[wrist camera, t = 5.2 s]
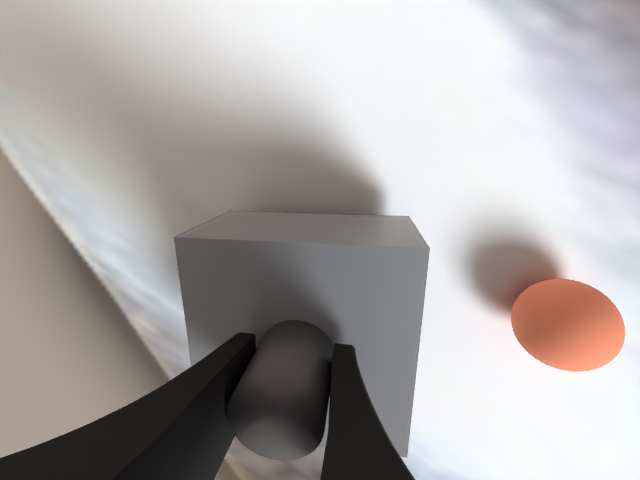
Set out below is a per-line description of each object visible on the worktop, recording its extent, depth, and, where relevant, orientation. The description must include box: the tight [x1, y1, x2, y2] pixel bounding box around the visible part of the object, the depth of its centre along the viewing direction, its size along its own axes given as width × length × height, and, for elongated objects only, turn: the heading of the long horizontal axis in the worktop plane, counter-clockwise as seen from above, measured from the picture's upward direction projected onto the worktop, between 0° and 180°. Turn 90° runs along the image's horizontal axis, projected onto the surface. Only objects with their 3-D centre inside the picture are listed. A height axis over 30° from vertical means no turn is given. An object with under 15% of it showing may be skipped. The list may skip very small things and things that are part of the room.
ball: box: [511, 279, 625, 371], centre depth 14 cm, size 4×4×4 cm
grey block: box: [174, 211, 430, 460], centre depth 12 cm, size 9×9×8 cm
